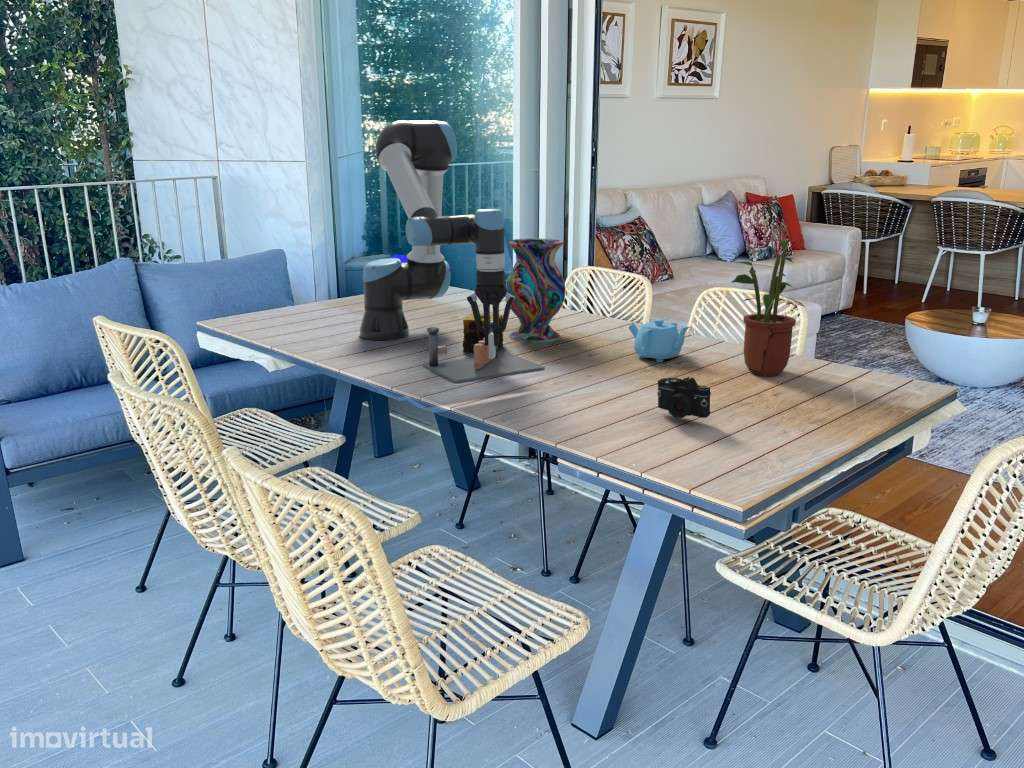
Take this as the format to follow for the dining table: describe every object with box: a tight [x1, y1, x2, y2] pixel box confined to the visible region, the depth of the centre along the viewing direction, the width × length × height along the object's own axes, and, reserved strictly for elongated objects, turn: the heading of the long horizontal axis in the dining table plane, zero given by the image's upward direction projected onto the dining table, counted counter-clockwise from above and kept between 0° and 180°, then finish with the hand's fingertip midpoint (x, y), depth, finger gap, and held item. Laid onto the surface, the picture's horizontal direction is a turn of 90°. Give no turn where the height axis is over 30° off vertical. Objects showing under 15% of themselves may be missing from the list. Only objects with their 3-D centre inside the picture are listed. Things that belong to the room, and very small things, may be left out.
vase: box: [505, 237, 566, 344], centre depth 264 cm, size 18×18×30 cm
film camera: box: [656, 375, 712, 419], centre depth 193 cm, size 13×8×10 cm, turn 54°
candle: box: [462, 313, 504, 354], centre depth 253 cm, size 10×10×10 cm
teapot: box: [628, 318, 691, 363], centre depth 243 cm, size 15×14×11 cm
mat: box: [422, 352, 546, 384], centre depth 234 cm, size 19×27×1 cm
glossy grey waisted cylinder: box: [490, 320, 499, 358], centre depth 242 cm, size 3×3×11 cm
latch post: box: [426, 326, 448, 367], centre depth 234 cm, size 5×6×11 cm
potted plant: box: [730, 240, 797, 377], centre depth 224 cm, size 17×16×35 cm
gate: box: [473, 338, 491, 369], centre depth 234 cm, size 13×2×6 cm, turn 164°
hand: (492, 357), depth 233 cm, fingers closed
